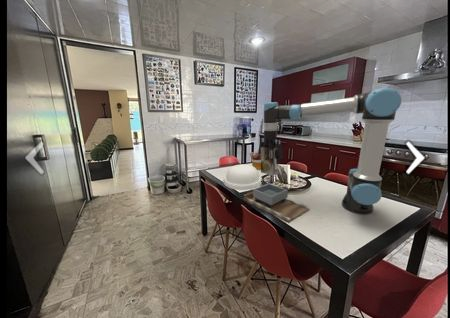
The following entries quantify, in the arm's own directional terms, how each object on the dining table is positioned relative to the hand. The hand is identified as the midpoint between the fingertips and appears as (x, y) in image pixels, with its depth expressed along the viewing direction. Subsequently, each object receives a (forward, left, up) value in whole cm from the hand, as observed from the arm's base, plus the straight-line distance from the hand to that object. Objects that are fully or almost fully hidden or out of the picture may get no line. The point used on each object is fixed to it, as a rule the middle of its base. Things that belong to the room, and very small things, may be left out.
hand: (269, 167), depth 117 cm
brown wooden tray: (-4, 0, -23) cm, 24 cm away
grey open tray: (-1, 0, -22) cm, 22 cm away
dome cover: (+37, -11, -24) cm, 45 cm away
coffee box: (0, 0, -4) cm, 4 cm away
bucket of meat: (+54, -48, -24) cm, 76 cm away
